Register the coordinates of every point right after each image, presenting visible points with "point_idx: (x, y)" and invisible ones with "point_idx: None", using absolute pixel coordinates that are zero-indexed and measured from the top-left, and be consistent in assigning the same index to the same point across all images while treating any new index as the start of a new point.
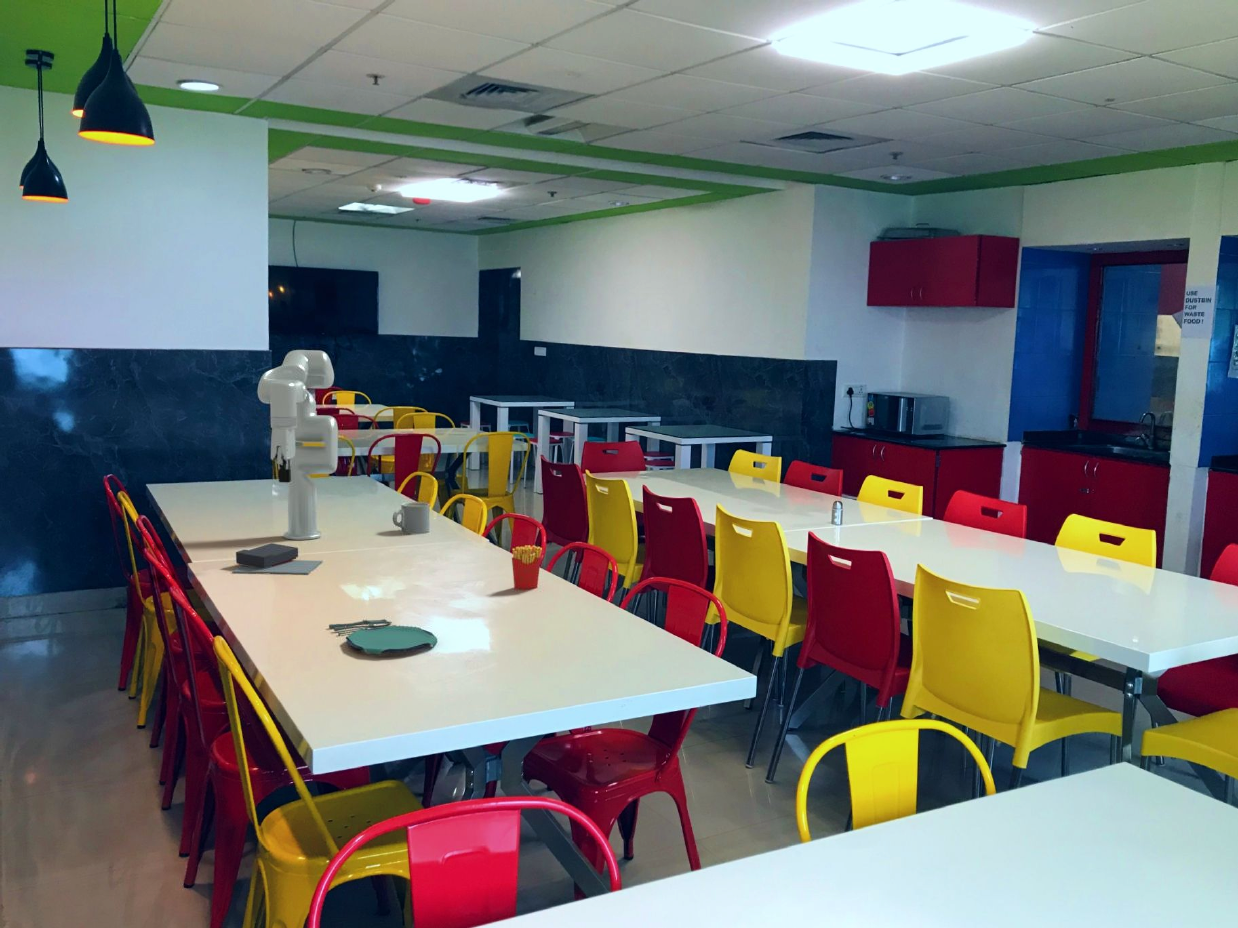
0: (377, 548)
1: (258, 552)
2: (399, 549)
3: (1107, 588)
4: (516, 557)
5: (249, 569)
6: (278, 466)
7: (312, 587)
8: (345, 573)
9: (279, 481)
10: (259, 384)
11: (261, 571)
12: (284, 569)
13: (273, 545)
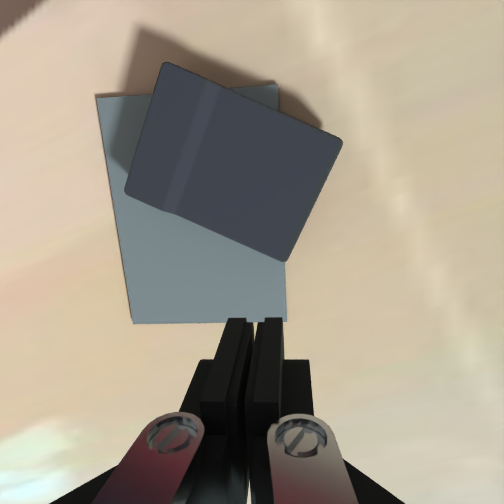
0: (501, 422)
1: (173, 154)
2: (484, 478)
3: None
4: None
5: (133, 143)
6: (129, 454)
7: (15, 366)
8: (168, 405)
9: (229, 323)
10: None
11: (116, 191)
12: (156, 249)
13: (307, 162)
